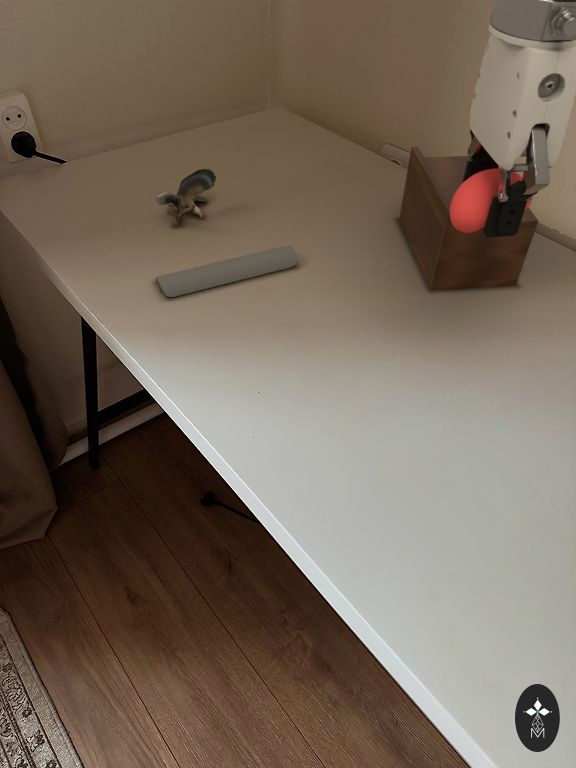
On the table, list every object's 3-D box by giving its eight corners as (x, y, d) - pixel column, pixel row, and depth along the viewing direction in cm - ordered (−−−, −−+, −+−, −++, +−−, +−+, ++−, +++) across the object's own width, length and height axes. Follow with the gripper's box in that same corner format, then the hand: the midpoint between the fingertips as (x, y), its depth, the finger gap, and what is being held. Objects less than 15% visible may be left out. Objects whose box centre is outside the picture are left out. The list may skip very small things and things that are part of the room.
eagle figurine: (212, 226, 93) (228, 186, 98) (180, 189, 89) (199, 150, 94) (175, 241, 97) (192, 202, 102) (143, 207, 93) (162, 168, 98)
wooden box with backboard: (473, 216, 99) (492, 144, 91) (516, 285, 87) (542, 209, 79) (398, 219, 98) (411, 146, 90) (431, 290, 86) (449, 213, 77)
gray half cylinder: (299, 266, 89) (299, 255, 87) (164, 300, 83) (162, 289, 81) (286, 250, 91) (286, 239, 90) (154, 282, 85) (152, 271, 84)
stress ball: (431, 219, 66) (434, 184, 60) (508, 176, 66) (518, 137, 60) (459, 257, 64) (464, 225, 58) (537, 213, 64) (551, 176, 58)
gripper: (642, 49, 45) (560, 263, 57) (540, -18, 57) (491, 172, 69) (541, 53, 44) (481, 269, 57) (459, -16, 56) (424, 175, 69)
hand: (487, 214), depth 63 cm, fingers closed on stress ball, 6 cm apart
